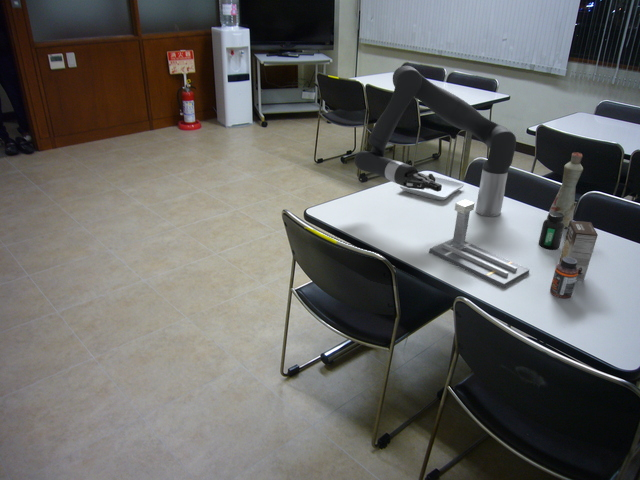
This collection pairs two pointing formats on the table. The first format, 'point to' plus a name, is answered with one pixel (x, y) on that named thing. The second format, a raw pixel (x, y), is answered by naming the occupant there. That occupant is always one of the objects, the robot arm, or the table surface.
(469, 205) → the post
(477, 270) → the slider rail base
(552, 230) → the supplement bottle
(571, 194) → the bottle
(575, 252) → the coffee box
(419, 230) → the table surface
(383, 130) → the robot arm
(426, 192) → the salad plate
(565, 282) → the supplement bottle
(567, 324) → the table surface
